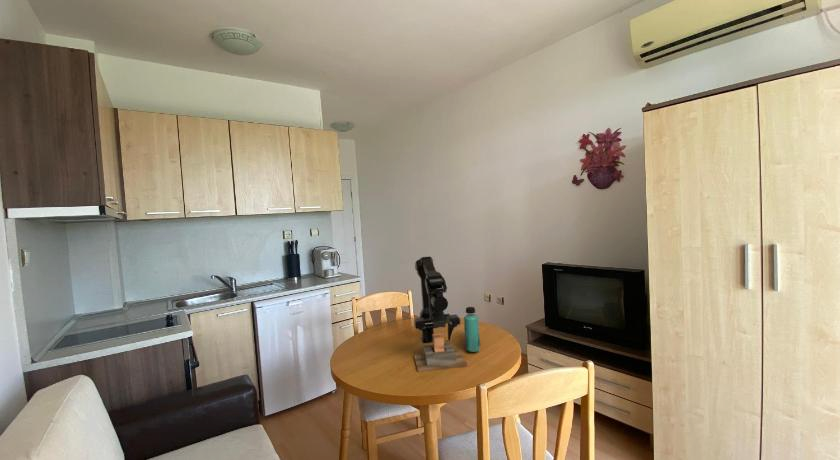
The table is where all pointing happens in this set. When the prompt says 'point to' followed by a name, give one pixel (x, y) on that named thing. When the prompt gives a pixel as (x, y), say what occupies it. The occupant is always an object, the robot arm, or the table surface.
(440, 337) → the peg
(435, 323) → the robot arm
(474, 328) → the beverage bottle
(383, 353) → the table surface
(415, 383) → the table surface
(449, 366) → the socket board
